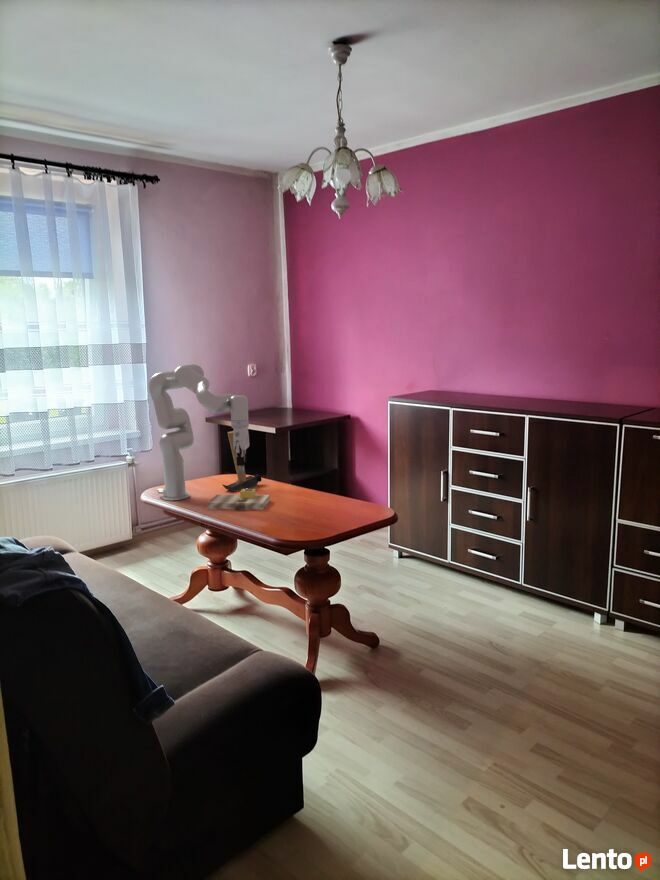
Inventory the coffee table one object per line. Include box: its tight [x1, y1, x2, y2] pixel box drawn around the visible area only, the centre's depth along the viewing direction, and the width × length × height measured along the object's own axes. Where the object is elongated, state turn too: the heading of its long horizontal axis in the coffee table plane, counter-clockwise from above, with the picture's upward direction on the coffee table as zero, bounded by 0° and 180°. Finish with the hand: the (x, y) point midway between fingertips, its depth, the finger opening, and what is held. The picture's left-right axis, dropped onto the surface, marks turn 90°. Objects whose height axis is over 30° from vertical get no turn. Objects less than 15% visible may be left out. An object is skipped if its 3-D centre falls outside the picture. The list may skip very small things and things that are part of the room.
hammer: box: [221, 430, 262, 492], centre depth 318 cm, size 20×5×30 cm, turn 131°
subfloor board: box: [206, 494, 271, 512], centre depth 291 cm, size 25×17×3 cm
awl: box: [239, 449, 246, 473], centre depth 284 cm, size 3×3×12 cm
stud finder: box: [239, 488, 257, 498], centre depth 294 cm, size 6×5×3 cm
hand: (241, 464), depth 285 cm, fingers closed on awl, 3 cm apart
